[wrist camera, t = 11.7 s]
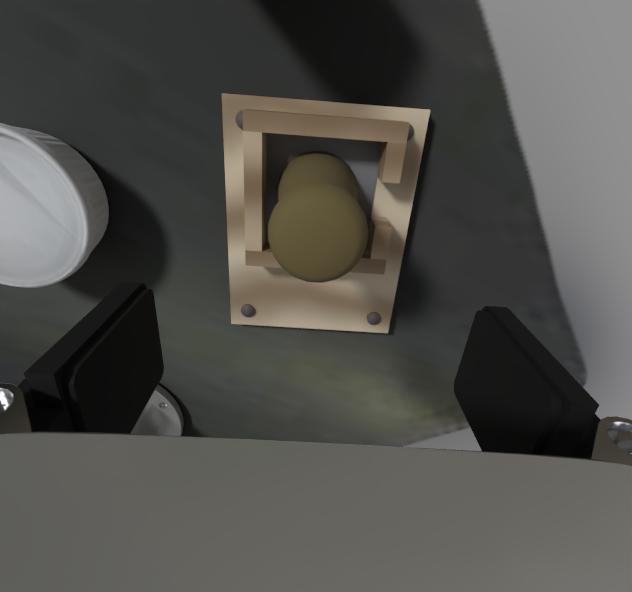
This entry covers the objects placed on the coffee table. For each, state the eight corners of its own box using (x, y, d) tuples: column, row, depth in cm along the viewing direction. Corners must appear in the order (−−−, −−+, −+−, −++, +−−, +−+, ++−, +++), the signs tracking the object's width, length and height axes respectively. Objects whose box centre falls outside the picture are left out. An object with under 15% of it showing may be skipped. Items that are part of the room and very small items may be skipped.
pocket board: (385, 326, 35) (392, 349, 31) (234, 316, 34) (225, 339, 31) (426, 109, 26) (441, 110, 23) (225, 93, 26) (212, 92, 22)
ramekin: (130, 146, 28) (91, 155, 23) (119, 277, 32) (85, 306, 28) (-35, 93, 26) (-112, 91, 21) (-20, 239, 31) (-80, 263, 26)
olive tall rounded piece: (260, 190, 28) (228, 239, 18) (321, 131, 26) (324, 150, 16) (314, 248, 30) (312, 320, 20) (374, 197, 28) (406, 250, 18)
